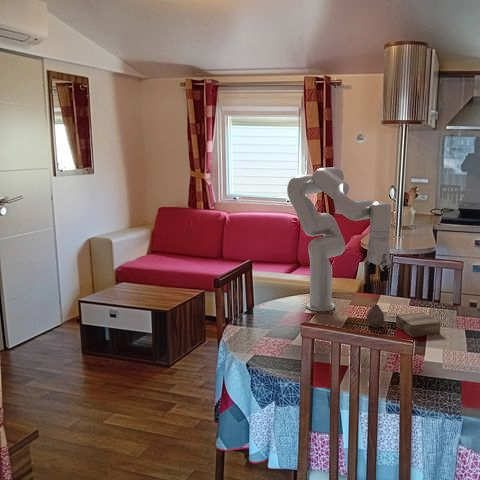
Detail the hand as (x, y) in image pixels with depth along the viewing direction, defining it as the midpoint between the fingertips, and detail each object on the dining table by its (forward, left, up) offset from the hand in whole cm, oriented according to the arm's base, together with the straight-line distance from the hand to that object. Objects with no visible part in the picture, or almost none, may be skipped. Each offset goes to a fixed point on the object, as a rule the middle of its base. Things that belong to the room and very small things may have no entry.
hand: (377, 277), depth 212 cm
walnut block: (+8, +14, -21) cm, 26 cm away
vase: (0, 0, -21) cm, 21 cm away
